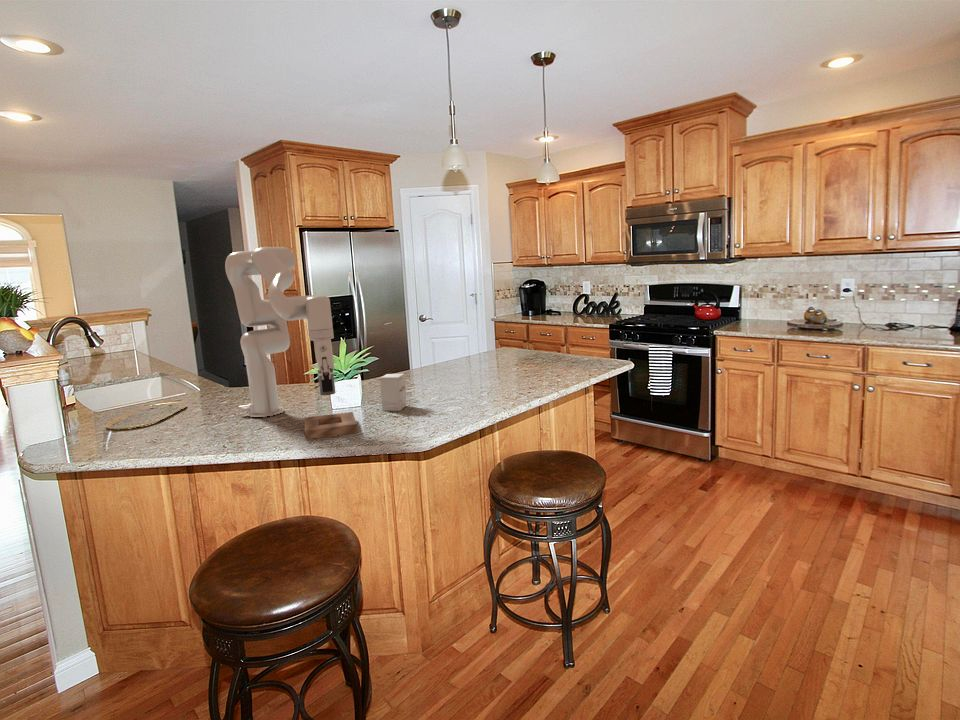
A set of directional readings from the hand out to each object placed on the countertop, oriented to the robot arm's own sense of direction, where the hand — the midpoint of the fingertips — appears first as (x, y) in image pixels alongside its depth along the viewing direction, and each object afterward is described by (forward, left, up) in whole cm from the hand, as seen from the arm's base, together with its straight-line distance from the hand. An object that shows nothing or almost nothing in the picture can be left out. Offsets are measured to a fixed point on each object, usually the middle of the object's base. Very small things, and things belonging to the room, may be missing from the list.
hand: (327, 389), depth 174 cm
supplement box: (+24, +17, -14) cm, 33 cm away
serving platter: (-65, +51, -14) cm, 84 cm away
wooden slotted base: (0, 0, -14) cm, 14 cm away
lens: (0, 0, -1) cm, 1 cm away
